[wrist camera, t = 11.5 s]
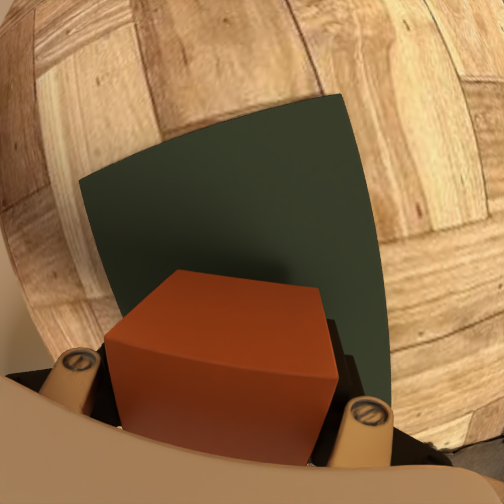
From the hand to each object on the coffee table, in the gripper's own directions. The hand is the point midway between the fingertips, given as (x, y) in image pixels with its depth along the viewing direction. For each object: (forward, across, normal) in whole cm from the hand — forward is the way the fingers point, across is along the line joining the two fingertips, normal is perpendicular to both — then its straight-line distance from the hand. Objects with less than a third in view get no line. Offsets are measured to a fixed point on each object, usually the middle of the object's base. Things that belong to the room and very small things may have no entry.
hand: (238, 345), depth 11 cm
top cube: (0, 0, 0) cm, 0 cm away
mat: (+3, 0, 0) cm, 3 cm away
